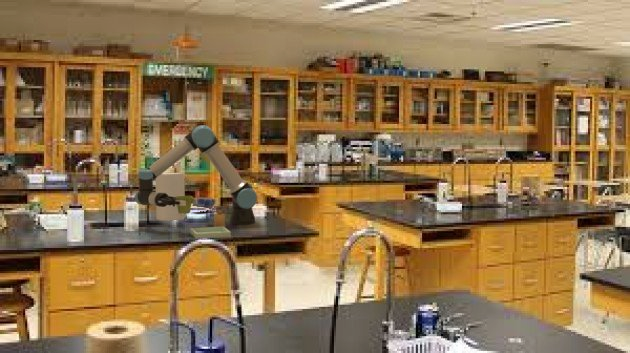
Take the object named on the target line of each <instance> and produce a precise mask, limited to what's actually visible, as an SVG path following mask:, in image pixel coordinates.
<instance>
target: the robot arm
mask: <svg viewBox="0 0 630 353" xmlns="http://www.w3.org/2000/svg"><path fill="white" fill-rule="evenodd" d="M219 143H220V141H219V139H218V137H217V136H216V135H215V133H214V130H213V129H212V128H211V127H209V126H208V125H202V124H200V125H197V126H194V128H193V129H191V131H190V132H189V133H187V134H186V135H185V136H184V137H183V140H181V141H180V142H179V143H177V144H176V145H175V146H173V148H171V149H170V150H169V151H167V152H166V153H164V155H162V156H161V157H160V158H159V159H157V160H156V161H155V162H153V163H152V164H151V165H149V166H148V167H147V168H146V169H140V170H138V176H137V177H138V191H137V192H135V196H134V201H135V202H136V204H138V205H142V206H148V207H149V206H151V207H154V208H156V206H159V207H165V206H167V205H170V206H171V205H173V206H175V205H179V206H186V201H183V200H176V198H175V197H172V196H168V195H167V194H166V193H159V192H156V191H154V185H153V184H154V180H155V181H156V178H157V177H158V176H160V175H161V174H162V173H166V171H167V170H169V169H170V168H172V167H173V166H174V165H175V164H177V162H179V161H180V160H181V159H183V158H184V157H185V156H187V155H189V153H190V152H192V151H196V150H197V149H198V150H199V152H201V154H203V155H206V157H207V158H208V159H209V161H210V162H211V164H212V165H213V166H214V168H215V169H216V171H217V172H218V174H219V175H220V176H221V178H222V179H223V181H224V182H225V184H226V185H227V187H228V188H229V189H230V190H229V194H230V196H231V197H232V204H231V205H232V206H231V207H232V209H231V213H230V217H229V223H230V224H232V225H251V224H255V223H256V216H255V214H254V210H253V208H254V206H255V205H256V204H257V201H258V195H257V192H256V191H255V190H254V189H253V184H252V183H249V182H248V181H247V180H244V179H243V178H242V177H241V175H240V174H239V173H238V171H237V169H236V168H235V167H234V165H233V164H232V163H231V161H230V160H229V158H228V157H227V155H226V154H225V152H224V151H223V150H222V148H221V147H220V144H219ZM193 204H197V199H195V198H194V197H193V198H192V202H191V205H193Z"/></svg>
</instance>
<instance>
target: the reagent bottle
mask: <svg viewBox="0 0 630 353" xmlns="http://www.w3.org/2000/svg"><path fill="white" fill-rule="evenodd" d="M222 209H223V206H221V205H218V206H216V210H217V213H213V222H214V223H213V227H225V228H226V213H223V212H222V211H223V210H222Z"/></svg>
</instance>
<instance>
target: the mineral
mask: <svg viewBox="0 0 630 353" xmlns="http://www.w3.org/2000/svg"><path fill="white" fill-rule="evenodd" d="M194 199H197V204H191V207H192V206H197V207H206V208H209V209H210V210H212V208H213V207H214V206H215V205H216V199H214V198H213V197H203V196H201V197H195V198H194Z"/></svg>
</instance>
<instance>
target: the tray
mask: <svg viewBox="0 0 630 353" xmlns="http://www.w3.org/2000/svg"><path fill="white" fill-rule="evenodd" d="M189 233H190V235H191V236H192V237H193V238H194V239H195V240H197V239H199V238H207V237H209V238H214V240H215V238H217V239H231V238H232V232H231V231H230V230H229V229H228V228H226V226H225V227H214V226H212V227H211V226H210V227H209V226H208V227H207V226H206V227H194V228H193V227H191V228H190V231H189ZM197 241H198V240H197Z"/></svg>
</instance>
